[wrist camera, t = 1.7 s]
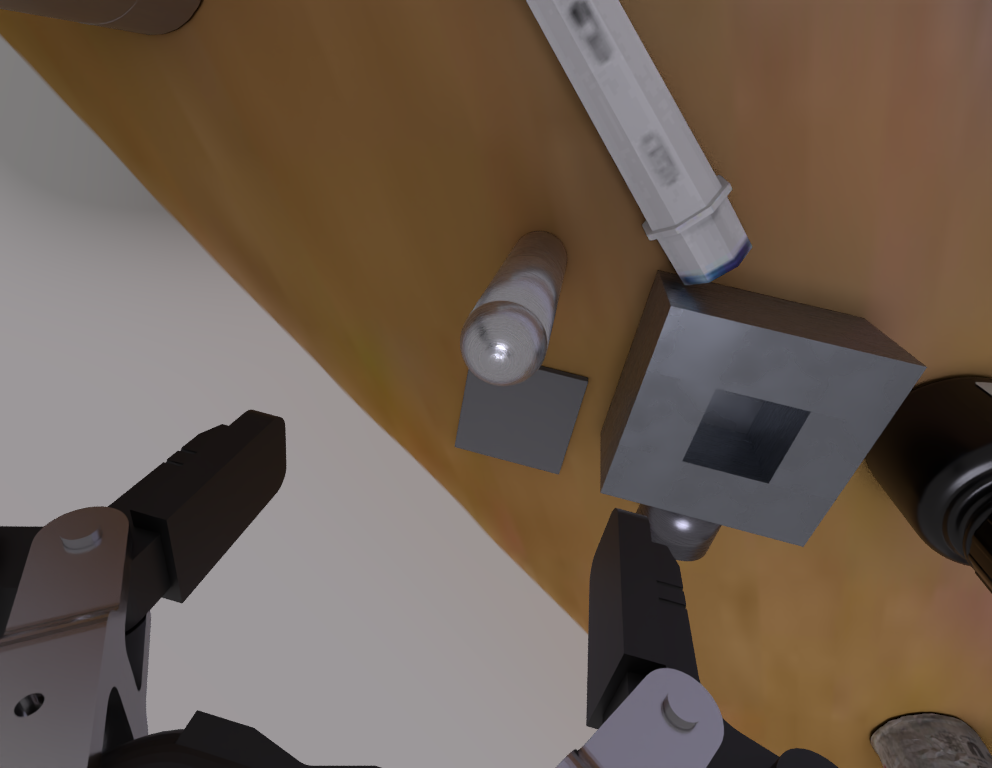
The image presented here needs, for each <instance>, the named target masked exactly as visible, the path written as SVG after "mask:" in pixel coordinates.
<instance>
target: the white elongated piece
mask: <svg viewBox="0 0 992 768" xmlns="http://www.w3.org/2000/svg"><path fill="white" fill-rule="evenodd" d="M526 1H527V3H528V5H529V7H530V9H531V10H532V12H533V14H534V16H535V18H536V20H537V21H538V23H539V25H540V27H541V29H542V30H543V32H544V34H545V36H546V38H547V40H548V41H549V43H550V45H551V47H552V49H553V51H554V52H555V54H556V56H557V58H558V60H559V62H560V63H561V65H562V67H563V69H564V71H565V72H566V74H567V76H568V78H569V80H570V82H571V83H572V85H573V87H574V89H575V91H576V93H577V94H578V96H579V98H580V100H581V102H582V103H583V105H584V107H585V109H586V111H587V113H588V114H589V116H590V118H591V120H592V122H593V124H594V125H595V127H596V129H597V131H598V133H599V134H600V136H601V138H602V140H603V142H604V144H605V145H606V147H607V149H608V151H609V153H610V155H611V156H612V158H613V160H614V162H615V164H616V165H617V167H618V169H619V171H620V173H621V175H622V176H623V178H624V180H625V182H626V184H627V186H628V187H629V189H630V191H631V193H632V195H633V196H634V198H635V200H636V202H637V204H638V206H639V207H640V209H641V211H642V213H643V215H644V217H645V218H646V221H645V222H644V223H643V224H642V226H643V228H644V230H645V232H646V235H647V237H648V238H649V240H650V241H651V240H655V239H657V240H658V241H659V243H660V245H661V246H662V248H663V250H664V251H665V253H666V255H667V256H668V258H669V260H670V261H671V263H672V265H673V267H674V268H675V270H676V272H677V273H678V275H679V277H680V278H681V280H682V282H683V283H684V285H693V284H702V283H709V282H711V281H713V280H714V279H716V278H718V277H720V276H722V275H723V274H725V273H727V272H729V271H731V270H732V269H734V268H736V267H738V266H739V264H740V263H741V262H742V260H743V259H744V258H745V256H746V255H747V254H748V252H749V251H750V250H751V248H752V245H751V243H750V241H749V239H748V237H747V235H746V233H745V231H744V229H743V227H742V225H741V223H740V221H739V219H738V217H737V215H736V213H735V211H734V210H733V208H732V206H731V204H730V202H729V200H728V198H727V195H728V194H729V193H730V192H731V190H732V187H731V185H730V183H729V182H727V181H726V180H725V179H724V178H723V177H722V176H720V175H718V176H716V175H715V173H714V171H713V170H712V168H711V166H710V164H709V162H708V161H707V159H706V157H705V155H704V153H703V152H702V150H701V148H700V146H699V144H698V143H697V141H696V139H695V137H694V135H693V134H692V132H691V130H690V128H689V126H688V125H687V123H686V121H685V119H684V117H683V116H682V114H681V112H680V110H679V108H678V107H677V105H676V103H675V101H674V99H673V98H672V96H671V94H670V92H669V90H668V89H667V87H666V85H665V83H664V81H663V80H662V78H661V76H660V74H659V72H658V71H657V69H656V67H655V65H654V63H653V62H652V60H651V58H650V56H649V54H648V53H647V51H646V49H645V47H644V45H643V44H642V42H641V40H640V38H639V36H638V35H637V33H636V31H635V29H634V27H633V26H632V24H631V22H630V20H629V18H628V17H627V15H626V13H625V11H624V9H623V8H622V6H621V4H620V2H619V0H526Z"/></svg>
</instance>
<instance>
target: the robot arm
mask: <svg viewBox="0 0 992 768" xmlns="http://www.w3.org/2000/svg"><path fill="white" fill-rule="evenodd" d="M200 1H201V0H0V9H6V10H11V11H17V12H23V13H29V14H34V15H40V16H46V17H51V18H57V19H63V20H68V21H74V22H79V23H84V24H90V25H95V26H101V27H107V28H113V29H119V30H124V31H130V32H136V33H142V34H147V35H153V34H165V33H168V32H170V31H173V30H176V29H178V28H179V27H180V26H181V25H183V24H184V23H185V22H186V21H188V20H189V19H190V17H191V16H192V14H193V13H194V12H195V10H196V9H197V7H198V6H199V3H200ZM285 473H286V436H285V422H284V420H283V418H281V417H278V416H273V415H270V414H266V413H262V412H259V411H255V410H248V411H246V412H245V413H244V414H242V415H241V416H240V417H239V418H238V419H237V420H235V421H234V422H233V423H232V424H231V425H229V426H227V425H223V424H222V425H219V426H217V427H214V428H212V429H210V430H208V431H205V432H203V433H200V434H198V435H197V436H196V437H195V438H194V439H192V440H191V441H190V442H188V443H187V444H186V445H185V446H183V447H182V449H181V451H177V452H176V453H175V454H173V455H172V456H171V457H170V458H168V459H167V462H166V463H164V462H163V463H162V464H161V465H160V466H158V467H157V468H156V469H155V470H154V471H152V472H151V473H150V474H148V475H147V476H146V477H145V478H143V479H142V480H141V481H139V482H138V483H137V484H136V485H134V486H133V487H132V488H131V489H130V490H129V491H127V492H126V493H125V494H123V495H122V496H121V497H120V498H118V499H117V500H116V501H114V502H113V503H112V504H111V505H109V506H108V507H88V508H83V509H79V510H75V511H72V512H69V513H66V514H64V515H62V516H60V517H58V518H56V519H54V520H53V521H51V522H49V523H48V524H47V525H46V526H44V527H7V526H6V527H3V526H1V527H0V768H380V767H377V766H309V765H305V764H303V763H301V762H299V761H298V760H297V759H295V758H294V757H293V756H291V755H290V754H289V753H287V752H286V751H284V750H283V749H282V748H280V747H279V746H278V745H276V744H275V743H274V742H272V741H271V740H269V739H268V738H267V737H266V736H264V735H263V734H261V733H260V732H259V731H257V730H256V729H255V728H252V727H249V726H246V725H243V724H240V723H236V722H233V721H229V720H227V719H224V718H220V717H217V716H214V715H210V714H208V713H204V712H201V711H196V713H195V714H194V716H193V717H192V719H191V720H190V722H189V723H188V725H187V726H186V728H185V729H178V730H171V731H163V732H159V733H155V734H151V735H148V725H147V716H146V691H147V675H148V659H149V658H148V657H149V643H150V628H151V613H150V609H151V608H152V607H153V606H154V605H155V604H156V603H157V602H158V601H159V599H160V598H161V597H163V598H166V599H169V600H173V601H176V602H180V603H183V602H184V601H185V600H186V598H187V597H188V596H189V595H190V594H191V593H192V591H193V590H194V589H195V588H196V587H197V586H198V584H199V583H200V582H201V581H202V580H203V579H204V577H205V576H206V575H207V574H208V573H209V571H210V570H211V569H212V568H213V567H214V566H215V564H216V563H217V562H218V561H219V560H220V559H221V557H222V556H223V555H224V554H225V553H226V552H227V550H228V549H229V548H230V547H231V546H232V545H233V543H234V542H235V541H236V540H237V539H238V538H239V536H240V535H241V534H242V533H243V531H244V530H245V529H246V528H247V527H248V526H249V525H250V523H251V522H252V521H253V520H254V519H255V518H256V516H257V515H258V514H259V513H260V512H261V510H262V509H263V508H264V507H265V506H266V505H267V503H268V502H269V501H270V500H271V499H272V498H273V496H274V495H275V494H276V493H277V492H278V490H279V488H280V487H281V485H282V482H283V480H284V477H285ZM682 590H683V584H682V578H681V573H680V567H679V565H678V563H677V562H676V560H675V558H674V557H673V555H672V553H671V552H670V550H669V548H668V547H667V546H666V545H662V544H659V543H655V542H652V539H651V530H650V522H649V518H648V517H647V516H644V515H640V514H636V513H632V512H629V511H625V510H621V509H617V508H615V509H614V510H613V511H612V513H611V516H610V518H609V521H608V523H607V526H606V528H605V530H604V533H603V535H602V538H601V540H600V543H599V545H598V548H597V550H596V553H595V556H594V559H593V563H592V568H591V574H590V592H589V635H588V678H587V680H588V681H587V722H586V725H587V726H588V727H592V728H595V729H598V730H597V731H596V733H595V734H594V735H593V736H592V737H591V738H590V739H589V740H588V741H587V743H585V745H584V746H583V747H582V748H580V749H579V750H578V751H577V750H573V751H572V752H571V753H570V754H569V755H567V756H566V757H565V758H564V759H563V760H562V761H561V763H560V764H559V765H558V766H557V767H556V768H838V767H837V766H836V765H834V764H833V763H832V762H830V761H829V760H828V759H826V758H824V757H823V756H821V755H819V754H817V753H815V752H813V751H810V750H806V749H799V748H795V749H790V750H788V751H786V752H784V753H783V754H782V755H781V756H780V757H779V756H777V755H775V754H774V753H772V752H771V751H769V750H767V749H766V748H764V747H762V746H761V745H759V744H758V743H756V742H754V741H753V740H751V739H750V738H748V737H746V736H745V735H743V734H742V733H740V732H739V731H737V730H736V729H734V728H733V727H732V726H731V725H730V724H728V723H727V722H726V721H725V720H724V719H723V718H722V716H721V713H720V710H719V708H718V706H717V704H716V702H715V701H714V699H713V698H712V696H711V695H710V694H709V692H708V691H707V690H706V689H705V688H704V687H703V686H702V685H701V684H700V680H699V676H698V670H697V665H696V659H695V653H694V647H693V642H692V636H691V630H690V624H689V619H688V613H687V609H685V608H686V601H685V596H684V592H683V591H682Z"/></svg>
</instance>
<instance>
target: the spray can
mask: <svg viewBox="0 0 992 768" xmlns="http://www.w3.org/2000/svg"><path fill="white" fill-rule="evenodd" d="M870 743H871V745H872V746H873V748H874V750H875V751H876V753H877V754H878V755H879V757H880V759H881V762H882V764H883V767H884V768H992V756H991V754H990V753H989V751H988V749H987V748H986V746H985V744H984V743H983V742H982V740H981V738H980V737H979V736H978V734H977V733H976V732H975V731H974V730H973V729H972V728H970V727H969V726H968V725H967V724H966V723H964V722H963V721H961V720H959V719H956V718H954V717H947V716H942V715H938V714H932V713H931V714H919V715H913V716H912V715H911V716H910V715H909V716H904V717H901V718H898V719H895V720H891V721H889V722H887V724H885V725H884V726H883V727H880V728H879V729H878V730H877V731H876V732H875V733H874V734H873V735H872V737H871V742H870Z"/></svg>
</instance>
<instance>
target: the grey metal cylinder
mask: <svg viewBox="0 0 992 768" xmlns="http://www.w3.org/2000/svg"><path fill="white" fill-rule="evenodd" d="M566 265H567V253H566V249H565V247H564V245H563V243H562V242H561V241H560V240H559V239H558V238H557V237H556V236H555V235H553V234H551V233H549V232H545V231H534V232H530V233H528V234H526V235H524V236H523V237H521V238H520V239H519V240H518V242H517V243H516V244H515V246H514V248H513V249H512V251H511V252H510V254H509V255H508V257H507V258H506V260H505V261H504V263H503V264H502V266H501V267H500V269H499V270H498V272H497V273H496V275H495V277H494V278H493V280H492V281H491V283H490V284H489V286H488V287H487V289H486V290H485V292H484V293H483V295H482V296H481V298H480V299H479V301H478V302H477V304H476V305H475V307H474V309H473V310H472V312H471V313H470V315H469V316H468V318H467V319H466V321H465V323H464V325H463V328H462V331H461V337H460V348H461V353H462V356H463V359H464V361H465V363H466V365H467V367H468V368H469V369H470V371H471V372H472V373H473V374H474V375H475V376H477V377H478V378H479V379H481V380H482V381H484V382H486V383H489V384H492V385H497V386H511V385H515V384H519V383H521V382H523V381H525V380H527V379H528V378H530V377H531V376H532V375H534V373H535V372H536V371H537V370H538V369H539V368H540V366H541V365H542V363H543V361H544V358H545V356H546V352H547V348H548V344H549V339H550V335H551V331H552V326H553V322H554V317H555V313H556V309H557V304H558V300H559V296H560V291H561V287H562V283H563V278H564V274H565V270H566Z"/></svg>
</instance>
